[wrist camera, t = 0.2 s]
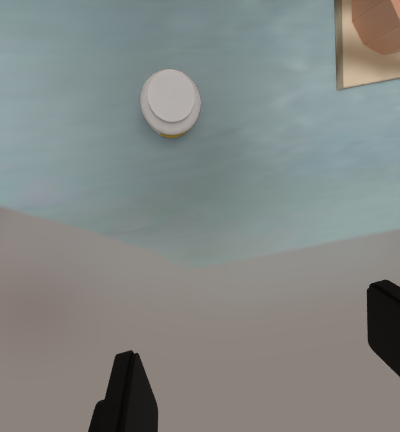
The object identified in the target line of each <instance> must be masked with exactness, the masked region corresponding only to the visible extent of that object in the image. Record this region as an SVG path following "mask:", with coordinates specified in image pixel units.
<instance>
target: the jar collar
mask: <svg viewBox="0 0 400 432" xmlns="http://www.w3.org/2000/svg"><path fill="white" fill-rule="evenodd" d="M352 23H353V25H354V27H355V29H356V31H357V33H358V35H359V37H360V39H361V41H362V43H363V44H364V45H365V46H367V47H369V48H371V49H372V50H374V51H376V52H378V53H380V54H382V55H385V54H391V53H396V52H400V0H352Z"/></svg>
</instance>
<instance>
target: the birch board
mask: <svg viewBox="0 0 400 432" xmlns="http://www.w3.org/2000/svg"><path fill="white" fill-rule="evenodd" d="M335 37H336V75H337V90H340V89H345V88H350V87H356V86H361V85H366V84H371V83H377V82H382V81H387V80H392V79H397V78H400V52H396V53H391V54H385V55H382V54H380V53H378V52H376V51H374V50H372V49H371V48H369V47H367V46H365V45H364V44H363V43H362V41H361V39H360V37H359V35H358V33H357V31H356V29H355V27H354V25H353V23H352V0H335Z"/></svg>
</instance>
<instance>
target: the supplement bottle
mask: <svg viewBox="0 0 400 432" xmlns="http://www.w3.org/2000/svg"><path fill="white" fill-rule="evenodd" d="M140 104H141V110H142V113H143V115H144V117H145V119H146V121H147V122H148V123H149V125H150V126H151V128H152V129H153V130H154V131H155V132H156V133H157V134H159V135H160V136H163V137H166V138H177V137H180V136H182V135H183V134H185V133H186V132H187V131H188V130H189V129H190V128H191V127H192V126H193V125H194V123H195V122H196V120H197V118H198V116H199V113H200V108H201V100H200V94H199V91H198V89H197V87H196V85H195V83H194V82H193V81H192V80H191V79H190V78H189V77H188V76H187V75H186V74H184V73H182V72H180V71H178V70H173V69H165V70H161V71H158V72H156V73H154V74H153V75H151V76H150V77H149V78H148V79H147V81H146V82H145V84H144V86H143V88H142V91H141V96H140Z"/></svg>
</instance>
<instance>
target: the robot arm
mask: <svg viewBox="0 0 400 432" xmlns="http://www.w3.org/2000/svg"><path fill="white" fill-rule="evenodd" d="M367 325H368V343H369V345H370V347H371V349H372V350H373V351H374V352H375V353H376V354H377V355H378V356H379V357H380V358H381V359H382V360H383V361H384V362H385V363H386V364H387V365H388V366H389V367H390V368H391V369H392V370H393V371H394V372H396V374H398V376H400V287H399V286H397V285H395V284H394V283H392V282H390V281H388V280H382V281H378V282H375V283H371V284H370V286H369V288H368V289H367ZM88 432H158V407H157V403H156V400H155V397H154V394H153V392H152V389H151V386H150V384H149V381H148V378H147V376H146V373H145V370H144V367H143V365H142V362H141V359H140V356H139V354H138V353H135V354H134V353H133V351H132V350H130V351H127V352H123V353H120V354H117V355H116V356H115V360H114V364H113V367H112V372H111V376H110V380H109V384H108V388H107V392H106V396H105V399H104V400H101V401H99V402H98V403H97V404H96V406H95V409H94V412H93V416H92V420H91V423H90V427H89V430H88Z"/></svg>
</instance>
